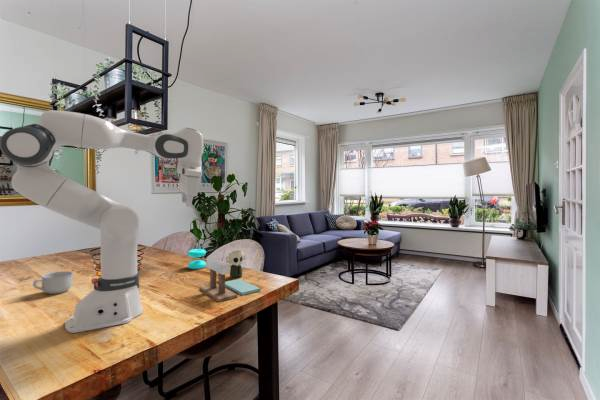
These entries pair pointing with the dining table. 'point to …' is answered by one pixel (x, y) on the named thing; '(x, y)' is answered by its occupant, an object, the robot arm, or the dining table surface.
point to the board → (241, 287)
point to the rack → (218, 288)
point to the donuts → (197, 263)
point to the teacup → (55, 282)
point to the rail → (218, 265)
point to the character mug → (235, 262)
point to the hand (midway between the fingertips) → (186, 204)
